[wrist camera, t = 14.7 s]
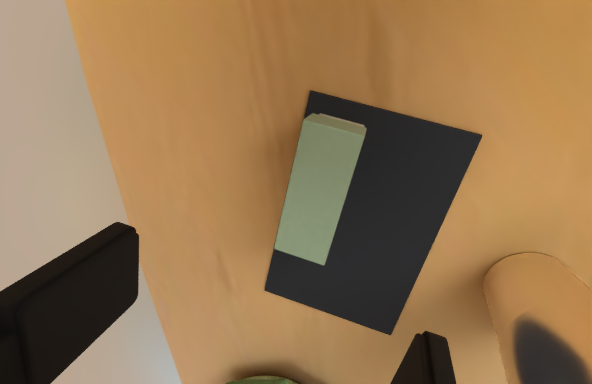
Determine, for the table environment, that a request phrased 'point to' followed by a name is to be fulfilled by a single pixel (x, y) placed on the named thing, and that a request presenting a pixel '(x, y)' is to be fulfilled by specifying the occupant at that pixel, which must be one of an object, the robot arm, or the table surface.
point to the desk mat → (380, 216)
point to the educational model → (263, 380)
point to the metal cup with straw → (540, 320)
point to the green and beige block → (318, 185)
